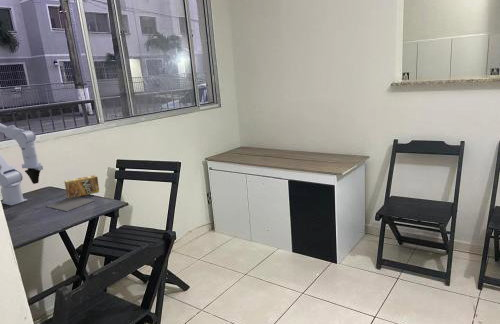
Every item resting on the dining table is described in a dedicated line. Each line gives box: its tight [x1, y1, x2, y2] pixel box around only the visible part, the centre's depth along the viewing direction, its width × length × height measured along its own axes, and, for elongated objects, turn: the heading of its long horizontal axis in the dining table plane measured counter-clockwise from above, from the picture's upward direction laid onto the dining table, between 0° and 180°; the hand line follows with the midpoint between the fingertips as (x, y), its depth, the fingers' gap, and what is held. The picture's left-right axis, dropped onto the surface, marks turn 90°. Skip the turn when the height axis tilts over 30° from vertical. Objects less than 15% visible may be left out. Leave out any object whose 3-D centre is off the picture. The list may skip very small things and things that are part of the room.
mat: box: [46, 196, 96, 212], centre depth 177 cm, size 16×15×1 cm
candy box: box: [64, 174, 100, 199], centre depth 189 cm, size 9×4×15 cm
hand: (35, 183), depth 178 cm, fingers closed
